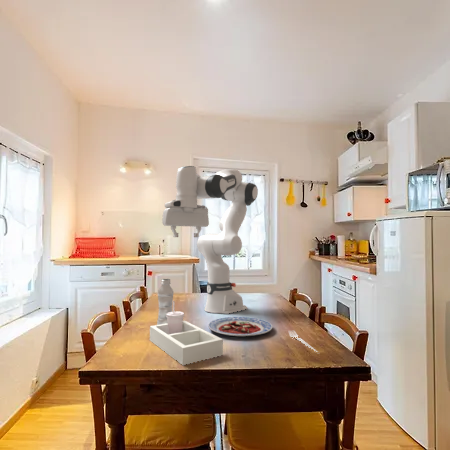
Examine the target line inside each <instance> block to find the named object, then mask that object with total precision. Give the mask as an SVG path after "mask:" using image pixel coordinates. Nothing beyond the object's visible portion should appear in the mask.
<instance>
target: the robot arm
mask: <svg viewBox="0 0 450 450" xmlns="http://www.w3.org/2000/svg"><path fill="white" fill-rule="evenodd" d="M175 179H176V181H175V183H176V184H175V188H176V196H175V199H172V200H170V201H167V202H165V203H164V208H165V209H163V211H162V219H161V221H162V222H161V223H162V225H163V226H164V227H166V226H167V227H170V230H171V232H172V236H173V238H179V234H180V233H179V232H177V230H176V229H177V227H193V228H194V227H195V230H196V231H195V233H194V232H193V238H198V239H197V242H196V247H197V250H198V251H199V252H200V253H201V254H202V256H203V257H204V260H205V263H206V266H207V282H206V293H207V296H206V300H205V301H206V303H205V307H204V311H205V312H208V313H210V314H211V313H212V314H226V315H227V314H228V315H229V313H230V314H233V312H234V313H238V312H241V310H242V311H246V310H248V306H247V305H244V302H243V301H244V300H243V298H242V297H243V296H241V295H240V294H239V293H238V292H236V291H235V290H234V289H233V287H234V288H235V287H236V286H237V283H236V282H230V266H229V264H227V263H226V262H225V261H224V259H223V256H235V255H238V254H239V253H240V252H241V250H242V248H243V247H242V246H243V242H242V239H241V237H240V236H239V230H240V228H241V226H242V224H243V222H244V220H245V217H246V214H247V210H248V209H247V208H248V207H249V206H250V205H252V204H253V203H254V202H255V201H256V200H257V198H258V192H259V189H258V186H257V185H256V183H253V182H246V181H243V175H242V172H241V171H239V170H238V169H235V168H225V169H221V170H219V171H217V172H216V173H214V174H211V175H206V176H201V175H200V174H198V173H197V167H196V166H193V165H188V166H187V165H186V166H181V167H178V168H177V173H176V177H175ZM220 198H221V199H222V200H224V201H226V202H227V201H228V202H229V201H230V202H231V204H230V205H229V206H228V208H226V209H225V212H224V213H223V214H222V215H223V216H222V217H221V219H220V221H219V222H218V223H219V224H218V227H219V229H220V231H221V232H219V233H206V234H202V235H199V234H200V232H201V230H202V227H203V228H205V227H206V228H208V226H209V225H210V221H209V220H210V219H209V208H208V207H207V206H206V205H204V204H203V205H200V204H198V200H202V199H220ZM245 309H246V310H245ZM237 311H238V312H237Z"/></svg>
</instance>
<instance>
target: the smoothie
mask: <svg viewBox="0 0 450 450" xmlns="http://www.w3.org/2000/svg"><path fill="white" fill-rule="evenodd" d="M166 317H167V321H168V330H169V334H174V333H179V332H181V331H182V323H183V321H184V317H185V313H184V311H177V310H176V311H175V300H173V301H172V312H168V313H167V314H166Z"/></svg>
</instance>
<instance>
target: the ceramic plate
mask: <svg viewBox="0 0 450 450" xmlns="http://www.w3.org/2000/svg"><path fill="white" fill-rule="evenodd" d="M208 328H209V329H210V330H211V331H212V332H213V333H217V334H221V335H226V336H231V337H240V338H241V337H242V338H243V337H244V338H245V337H246V336H247V337H254V336H258V335H263V334H267V333H270V332H271V331H272V330H273V325H272V323H270V322H269V321H267V320H264V319H261V318H255V317H248V316H230V317H229V316H228V317H222V318H221V317H220V318H216V319H214V320H212V321H210V322H208ZM247 337H246V338H247Z"/></svg>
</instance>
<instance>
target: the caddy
mask: <svg viewBox="0 0 450 450" xmlns="http://www.w3.org/2000/svg"><path fill="white" fill-rule="evenodd" d="M149 341H150V342H151V343H152V344H154V345H155V346H157V347H158V348H160V350H162V351H163V352H164V351H165V354H167V355H168V356H170V357H171V358H172V359H174V361H176V360H177V361H178V362H177V361H176V362H177V363H178V364H180V365H181V364H182V366H187V365H190V363H191V364H194V363H193V362H195V363H198V362H197V361H199V362H202V361H201V360H203V361H206V360H205V359H207V360H210V359H209V358H211V359H214V358H213V357H215V358H217V356H219V357H222V356H221V355H223V356H224V354H223V353H224V339H223V338H221V337H219V336H217V335H215V334H213V333H211V332H209V331H208V330H207V331H206V330H205V329H202V327H201V328H200V326H197V325H196V324H195V325H194V324H193V323H190V322H189V321H187V320H183V323H182V331H181V332H179V333H174V334H169V330H168V323H166V324H160V325H157V324H155V325H149ZM186 364H187V365H186Z"/></svg>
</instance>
